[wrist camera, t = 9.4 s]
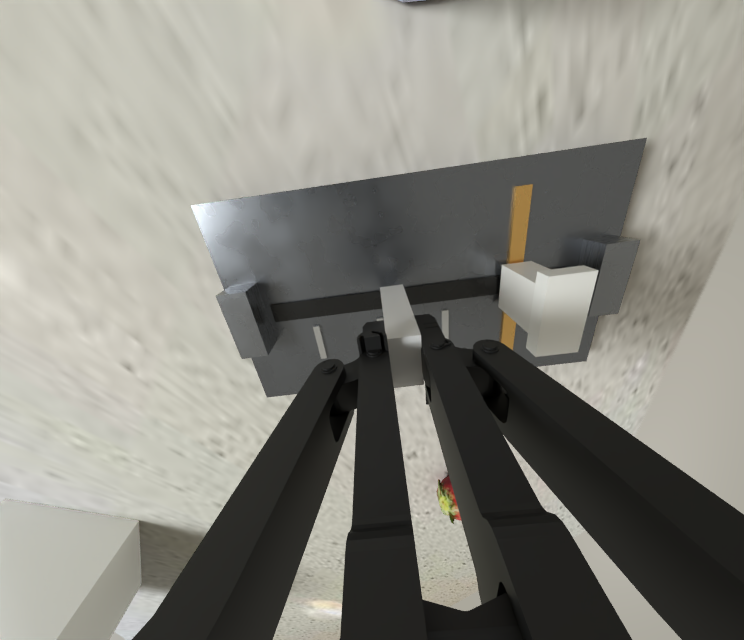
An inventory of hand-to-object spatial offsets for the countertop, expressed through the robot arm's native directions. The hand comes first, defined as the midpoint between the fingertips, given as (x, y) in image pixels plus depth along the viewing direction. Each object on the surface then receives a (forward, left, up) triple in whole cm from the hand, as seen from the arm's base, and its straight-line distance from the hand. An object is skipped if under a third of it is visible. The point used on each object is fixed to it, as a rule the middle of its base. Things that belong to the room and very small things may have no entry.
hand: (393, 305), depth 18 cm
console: (0, +2, -4) cm, 5 cm away
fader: (0, +9, -2) cm, 9 cm away
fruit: (+26, +5, -5) cm, 27 cm away
